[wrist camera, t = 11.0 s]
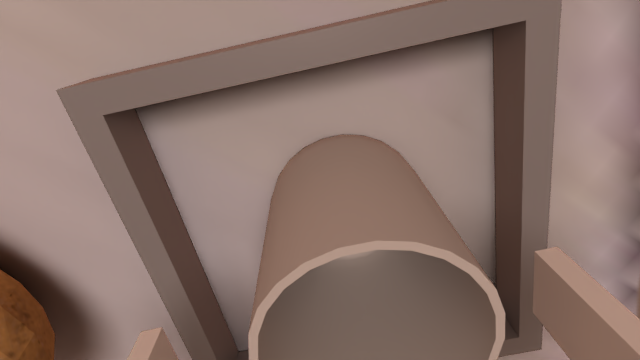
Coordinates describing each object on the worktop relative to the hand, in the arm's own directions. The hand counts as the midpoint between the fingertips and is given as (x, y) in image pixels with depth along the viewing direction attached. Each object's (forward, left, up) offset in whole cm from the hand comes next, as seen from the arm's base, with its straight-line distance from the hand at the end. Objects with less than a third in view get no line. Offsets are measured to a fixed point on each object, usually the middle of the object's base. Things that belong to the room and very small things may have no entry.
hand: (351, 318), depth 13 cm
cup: (0, 0, -7) cm, 7 cm away
